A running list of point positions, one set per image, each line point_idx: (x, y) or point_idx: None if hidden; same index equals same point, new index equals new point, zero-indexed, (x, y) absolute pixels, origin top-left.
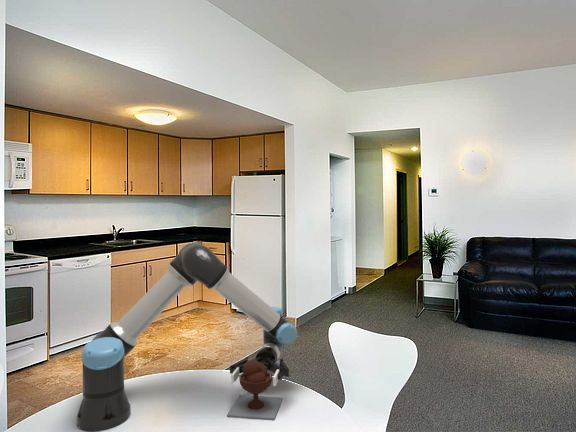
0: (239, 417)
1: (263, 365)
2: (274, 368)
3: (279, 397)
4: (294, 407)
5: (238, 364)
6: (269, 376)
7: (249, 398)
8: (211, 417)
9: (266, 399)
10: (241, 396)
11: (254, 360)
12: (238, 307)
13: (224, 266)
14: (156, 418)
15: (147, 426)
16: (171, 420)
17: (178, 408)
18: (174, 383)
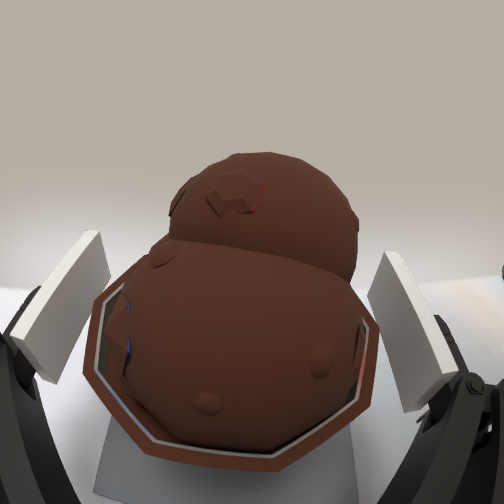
0: None
1: (142, 266)
2: (38, 451)
3: (109, 495)
4: (55, 407)
5: (493, 460)
6: (111, 376)
7: (288, 488)
8: (379, 333)
9: (181, 483)
10: (342, 499)
11: (244, 158)
12: None
13: None
14: (484, 306)
15: (469, 281)
16: (455, 305)
17: (490, 355)
18: None
